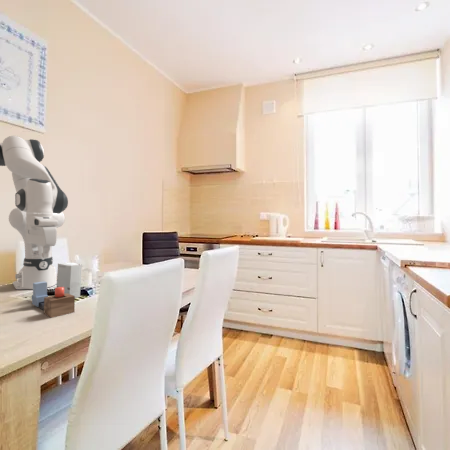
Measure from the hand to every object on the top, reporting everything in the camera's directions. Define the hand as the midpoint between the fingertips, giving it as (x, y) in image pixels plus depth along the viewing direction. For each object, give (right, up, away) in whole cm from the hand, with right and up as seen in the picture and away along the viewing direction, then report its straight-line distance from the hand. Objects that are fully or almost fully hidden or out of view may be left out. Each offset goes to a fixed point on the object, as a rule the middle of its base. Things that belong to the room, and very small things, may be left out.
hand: (40, 256), depth 114 cm
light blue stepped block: (-1, -20, +1) cm, 20 cm away
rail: (+3, -20, -2) cm, 20 cm away
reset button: (+11, -14, -7) cm, 19 cm away
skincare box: (+4, -20, +14) cm, 24 cm away
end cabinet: (+11, -20, -6) cm, 24 cm away
